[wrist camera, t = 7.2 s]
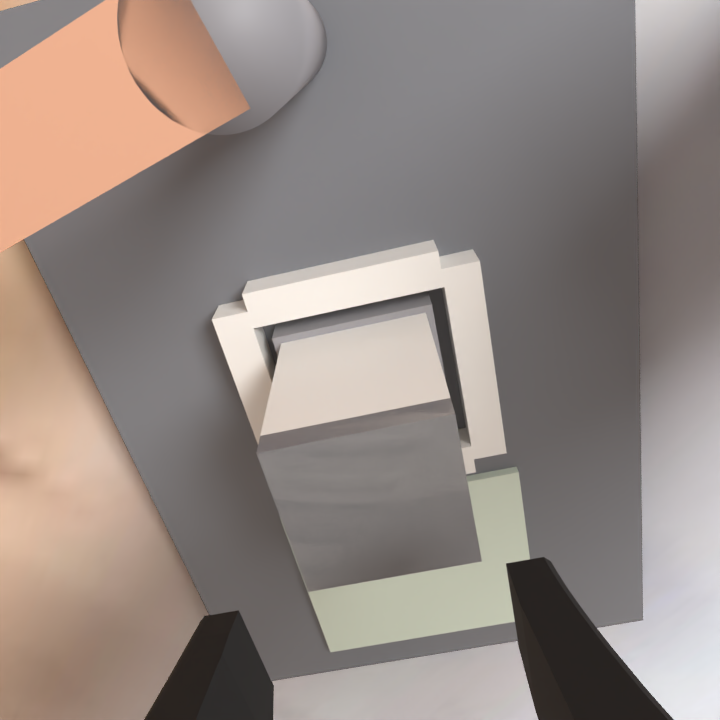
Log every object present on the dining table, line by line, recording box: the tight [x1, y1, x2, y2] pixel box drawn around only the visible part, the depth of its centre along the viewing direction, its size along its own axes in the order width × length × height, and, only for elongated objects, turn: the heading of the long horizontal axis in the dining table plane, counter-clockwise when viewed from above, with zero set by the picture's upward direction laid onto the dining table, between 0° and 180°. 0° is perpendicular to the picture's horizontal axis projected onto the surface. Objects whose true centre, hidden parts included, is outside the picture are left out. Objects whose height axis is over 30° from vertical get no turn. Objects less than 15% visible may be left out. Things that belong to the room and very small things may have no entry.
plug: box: [256, 291, 482, 592], centre depth 15 cm, size 4×4×6 cm
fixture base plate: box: [0, 0, 643, 681], centre depth 19 cm, size 16×24×2 cm, turn 13°
